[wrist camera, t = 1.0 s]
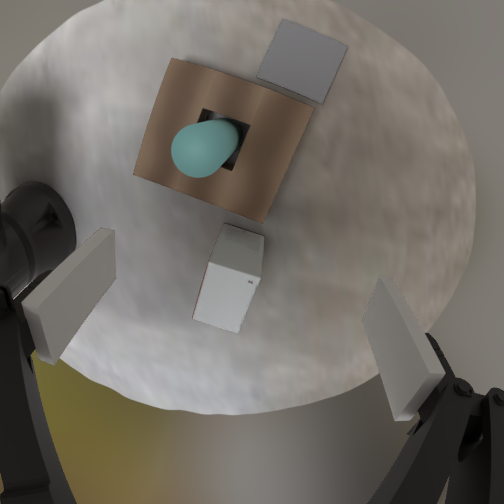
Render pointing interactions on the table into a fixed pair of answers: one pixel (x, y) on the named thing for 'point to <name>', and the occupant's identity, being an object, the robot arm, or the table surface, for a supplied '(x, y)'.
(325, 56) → the mat
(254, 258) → the small box
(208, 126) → the plug
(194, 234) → the table surface
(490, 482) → the robot arm
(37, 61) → the table surface
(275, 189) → the wooden block with hole
